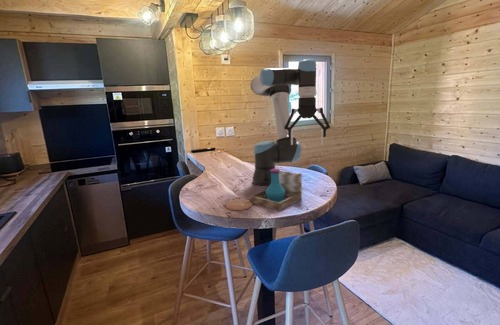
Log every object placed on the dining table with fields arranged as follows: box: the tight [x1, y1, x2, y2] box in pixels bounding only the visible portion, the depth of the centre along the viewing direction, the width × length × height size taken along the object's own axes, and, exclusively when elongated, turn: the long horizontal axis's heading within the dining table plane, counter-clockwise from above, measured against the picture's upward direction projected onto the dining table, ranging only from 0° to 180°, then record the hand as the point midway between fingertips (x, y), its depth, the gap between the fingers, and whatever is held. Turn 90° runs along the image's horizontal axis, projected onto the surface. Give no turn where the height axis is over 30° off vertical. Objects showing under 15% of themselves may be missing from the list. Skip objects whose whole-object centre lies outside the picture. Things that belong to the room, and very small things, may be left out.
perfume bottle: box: [266, 168, 285, 202], centre depth 125 cm, size 9×9×15 cm
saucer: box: [225, 198, 253, 212], centre depth 123 cm, size 12×12×1 cm
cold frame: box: [249, 170, 303, 211], centre depth 126 cm, size 17×18×12 cm
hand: (306, 144), depth 125 cm, fingers open, 13 cm apart
